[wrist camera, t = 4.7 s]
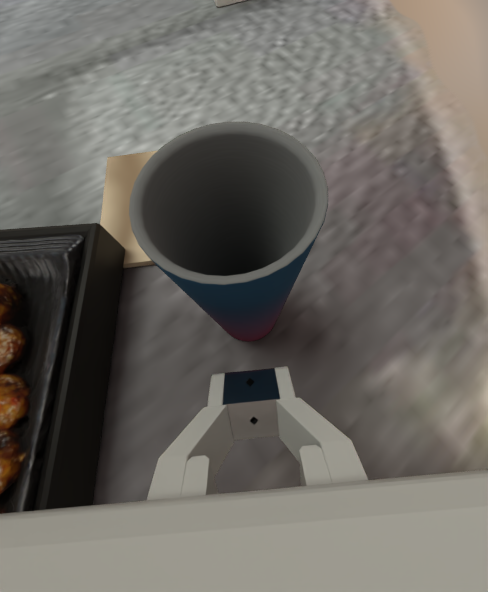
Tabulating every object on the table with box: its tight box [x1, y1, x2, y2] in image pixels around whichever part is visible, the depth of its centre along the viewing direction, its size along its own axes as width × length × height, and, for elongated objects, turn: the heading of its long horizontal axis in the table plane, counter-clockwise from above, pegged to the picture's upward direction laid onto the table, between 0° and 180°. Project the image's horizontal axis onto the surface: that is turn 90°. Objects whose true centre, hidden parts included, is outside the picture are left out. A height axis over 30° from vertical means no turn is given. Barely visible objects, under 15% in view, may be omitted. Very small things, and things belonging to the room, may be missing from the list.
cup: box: [129, 122, 328, 341], centre depth 16 cm, size 7×7×15 cm
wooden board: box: [100, 151, 157, 268], centre depth 27 cm, size 18×14×1 cm
